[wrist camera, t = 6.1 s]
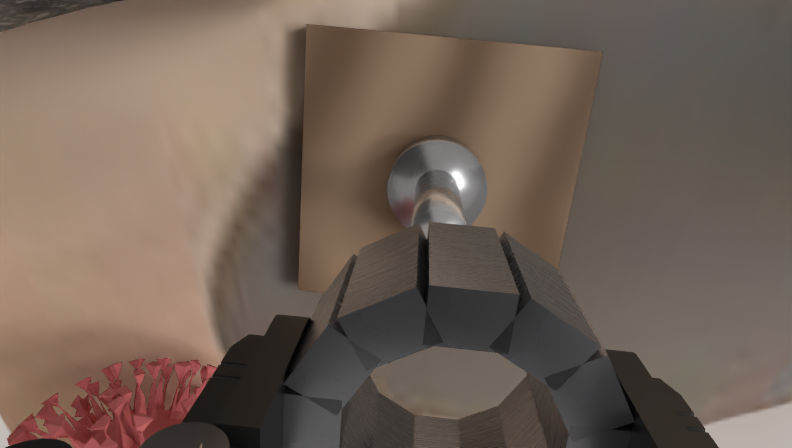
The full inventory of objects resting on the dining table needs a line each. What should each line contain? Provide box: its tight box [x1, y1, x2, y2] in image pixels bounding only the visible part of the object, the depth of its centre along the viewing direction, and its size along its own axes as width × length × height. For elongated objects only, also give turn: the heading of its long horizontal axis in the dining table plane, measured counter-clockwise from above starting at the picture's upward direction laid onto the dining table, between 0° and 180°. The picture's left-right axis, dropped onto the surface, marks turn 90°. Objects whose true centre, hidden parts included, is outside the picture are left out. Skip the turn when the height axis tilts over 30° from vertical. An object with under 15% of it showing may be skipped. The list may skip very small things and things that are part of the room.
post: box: [387, 135, 487, 238], centre depth 23 cm, size 5×5×8 cm
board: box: [298, 24, 603, 293], centre depth 27 cm, size 14×14×1 cm
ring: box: [283, 222, 634, 448], centre depth 11 cm, size 6×6×3 cm
